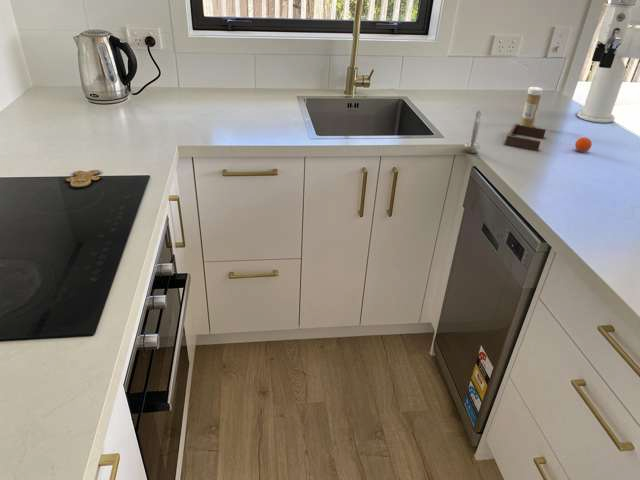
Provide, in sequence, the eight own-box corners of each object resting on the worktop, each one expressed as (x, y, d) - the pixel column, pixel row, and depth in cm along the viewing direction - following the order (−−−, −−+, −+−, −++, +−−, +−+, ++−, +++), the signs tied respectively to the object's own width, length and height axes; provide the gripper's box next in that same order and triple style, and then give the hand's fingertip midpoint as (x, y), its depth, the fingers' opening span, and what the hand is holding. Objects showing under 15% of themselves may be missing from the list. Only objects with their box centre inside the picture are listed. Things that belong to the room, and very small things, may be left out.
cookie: (103, 168, 130) (95, 183, 122) (104, 171, 131) (96, 187, 122) (70, 169, 129) (60, 185, 121) (71, 172, 130) (61, 188, 121)
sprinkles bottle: (535, 127, 171) (546, 88, 163) (527, 129, 168) (537, 90, 161) (524, 123, 174) (534, 85, 167) (516, 125, 172) (526, 87, 164)
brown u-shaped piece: (512, 132, 165) (514, 123, 164) (543, 137, 161) (546, 129, 160) (505, 144, 155) (507, 135, 154) (537, 150, 151) (540, 141, 150)
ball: (573, 147, 154) (578, 134, 152) (589, 150, 152) (593, 137, 150) (572, 152, 151) (577, 138, 148) (588, 155, 149) (593, 141, 147)
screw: (482, 153, 148) (469, 155, 147) (472, 148, 152) (459, 150, 150) (491, 111, 141) (478, 113, 140) (480, 107, 145) (467, 108, 143)
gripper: (645, 3, 126) (622, 71, 135) (627, -2, 141) (607, 60, 149) (614, 2, 128) (593, 69, 137) (599, -3, 142) (581, 58, 151)
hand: (600, 64), depth 143 cm, fingers open, 9 cm apart
